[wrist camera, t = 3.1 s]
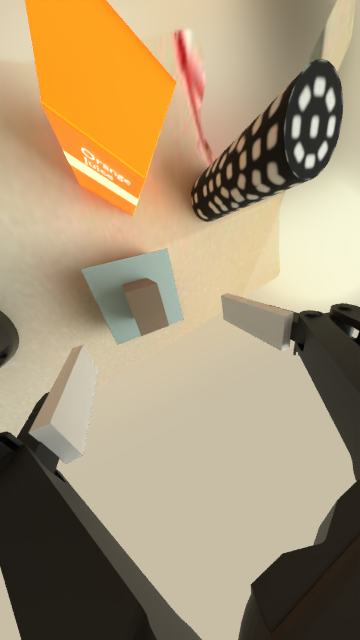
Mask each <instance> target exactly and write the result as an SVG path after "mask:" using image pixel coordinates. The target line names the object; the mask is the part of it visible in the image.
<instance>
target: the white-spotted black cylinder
mask: <svg viewBox="0 0 360 640" xmlns="http://www.w3.org/2000/svg"><path fill="white" fill-rule="evenodd" d="M342 114H343V93H342V87H341V82H340V79H339V75H338V73H337V71H336V69H335V67H334V66H333V65H332V64H331V63H330V62H329V61H327V60H324V59H319V60H315V61H313V62H312V63H310V64H309V65H308V66H307V67H306V68H305V69H304V70H303V71H302V72H301V73H300V74H299V75H298V76H297V77H296V78H295V79H294V80H293V81H292V82H291V83H290V84H289V85H288V86H287V87H286V89H284V90H283V92H281V94H280V95H279V96H278V97H277V98H276V99H275V100H274V101H273V102H272V103H271V104H270V105H269V106H268V107H267V108H266V109H265V110H264V111H263V112H262V113H261V114H260V115H259V116H258V117H257V118H256V119H255V120H254V121H253V122H252V123H251V124H250V125H249V126H248V127H247V128H246V129H245V130H244V132H242V133H241V135H240V136H239V137H238V138H237V139H236V140H235V141H234V142H233V143H232V144H231V145H230V146H229V147H228V148H227V149H226V150H225V151H224V152H223V153H222V154H221V155H220V156H219V157H218V158H217V159H216V160H215V161H214V162H213V163H212V164H211V165H210V166H209V167H208V168H207V169H206V170H205V171H204V172H203V174H202V175H201V176H200V177H199V178H198V179H197V180H196V181H195V183H194V185H193V187H192V192H191V202H192V207H193V209H194V212H195V213H196V215H197V216H198V217H199V218H200V219H201V220H203V221H207V222H211V221H214V220H216V219H218V218H221V217H223V216H226V215H228V214H230V213H233V212H235V211H237V210H240V209H242V208H244V207H247V206H249V205H252V204H254V203H256V202H259V201H261V200H263V199H266V198H268V197H270V196H273V195H275V194H278V193H280V192H282V191H285V190H287V189H289V188H291V187H294V186H296V185H299V184H301V183H304V182H306V181H308V180H311V179H313V178H314V177H316V176H317V175H319V174H320V173H321V172H322V171H323V169H324V168H325V166H326V165H327V164H328V162H329V160H330V158H331V156H332V154H333V152H334V149H335V147H336V144H337V140H338V137H339V132H340V128H341V121H342Z"/></svg>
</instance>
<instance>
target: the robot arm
mask: <svg viewBox="0 0 360 640" xmlns="http://www.w3.org/2000/svg"><path fill="white" fill-rule="evenodd" d="M221 298H222V308H223V318H224V320H226V321H228V322H230V323H231V324H233V325H235V326H237V327H238V328H240V329H242V330H244V331H246V332H248V333H250V334H251V335H253V336H255V337H257V338H259V339H261V340H263V341H264V342H266V343H268V344H270V345H271V346H273V347H275V348H277V349H279V350H281V351H282V350H284V349H286V348H288V347H289V346H290V339H291V340H293V341H295V345H294V355H296V352H298V355H299V356H300V357H301V359H302V361H303V363H304V365H305V367H306V369H307V371H308V373H309V375H310V377H311V378H312V381H313V383H314V385H315V387H316V389H317V391H318V392H319V394H320V396H321V398H322V400H323V402H324V404H325V406H326V408H327V410H328V412H329V414H330V416H331V418H332V420H333V421H334V424H335V426H336V427H337V429H338V431H339V433H340V435H341V437H342V439H343V441H344V443H345V445H346V447H347V449H348V451H349V453H350V455H351V458H352V463H353V471H354V475H355V478H356V481H357V482H356V483H354V484H353V485H352V486H351V488H349V489H348V490H347V491H346V492H345V493H344V494H343V495H342V496H341V497H340V498H339V499H338V500H337V502H336V503H335V504H334V506H333V507H332V509H331V510H330V512H329V513H328V515H327V516H326V518H325V519H324V521H323V522H322V524H321V525H320V527H319V530H318V533H317V536H316V539H315V542H314V545H313V546H309V547H305V548H302V549H298V550H294V551H291V552H287V553H283V554H282V555H281V556H280V557H279V558H278V559H277V560H276V561H275V562H274V563H273V564H271V565H270V566H269V567H268V568H267V570H265V571H264V572H263V573H262V574H261V575H260V576H259V577H258V578H257V579H256V580H255V581H254V582H253V583H252V584H251V596H250V598H249V600H248V603H247V605H246V608H245V612H244V615H243V618H242V622H241V627H240V633H239V639H238V640H360V307H358V306H355V305H350V304H343V303H341V304H335V305H332V306H331V309H330V312H329V313H322V312H319V311H302V312H300V313H296V312H293V311H289V310H286V309H281V308H279V307H275V306H272V305H267V304H263V303H260V302H256V301H253V300H249V299H246V298H242V297H239V296H235V295H232V294H228V293H227V294H224V295H221ZM354 328H355V329H357V330H359V334H358V337H357V338H354V337H352V334H353V331H354ZM18 344H19V337H18V332H17V330H16V328H15V326H14V324H13V323H12V321H11V320H10V319H9V318H8V317H7V316H6V315H5V314H4V313H2V312H1V311H0V367H2V366H3V365H4V364H5V363H6V362H7V361H8V360H10V359H11V358H12V356H13V355H14V354H15V352H16V350H17V348H18ZM97 376H98V368H97V367H96V365H95V363H94V362H93V360H92V359H91V357H90V355H89V354H88V352H87V350H86V349H85V347H84V345H81V346H78V347H76V348H73V349H72V351H71V353H70V355H69V356H68V358H67V360H66V362H65V364H64V366H63V368H62V370H61V372H60V374H59V375H58V377H57V379H56V381H55V383H54V385H53V387H52V389H51V391H50V392H48V393H46V394H45V395H44V396H43V397H42V398H41V399H40V400H39V401H38V402H37V404H36V405H35V407H34V409H33V411H32V413H31V414H30V416H29V417H28V420H27V421H26V423H25V424H24V426H23V428H22V430H21V431H20V433H19V435H18V437H17V438H16V437H15V436H13V435H12V434H11V433H9V432H2V433H0V567H1V571H2V574H3V577H4V581H5V585H6V588H7V591H8V595H9V598H10V602H11V605H12V609H13V612H14V616H15V619H16V623H17V626H18V629H19V633H20V637H21V640H202V639H201V638H200V637H199V636H198V635H197V634H196V633H195V632H194V630H193V629H192V628H191V627H190V626H189V625H188V624H187V623H185V622H184V621H183V620H182V619H181V618H180V617H179V616H178V615H177V614H176V613H175V611H174V610H173V609H172V608H171V607H170V606H169V605H168V603H167V602H166V601H165V600H164V598H163V597H162V596H161V595H160V593H159V592H158V591H157V590H156V589H155V587H154V586H153V585H152V584H151V582H150V581H149V580H148V579H147V578H146V576H145V575H144V574H143V573H142V571H141V570H140V569H139V568H138V567H137V565H136V564H135V563H134V562H133V560H132V559H131V558H130V557H129V556H128V555H127V553H126V552H125V551H124V549H123V548H122V547H121V546H120V545H119V544H118V542H117V541H116V540H115V539H114V537H113V536H112V535H111V534H110V533H109V531H108V530H107V529H106V528H105V526H104V525H103V524H102V523H101V521H100V520H99V519H98V518H97V517H96V515H95V514H94V513H93V512H92V511H91V509H90V508H89V507H88V506H87V505H86V503H85V502H84V501H83V500H82V499H81V497H80V496H79V495H78V494H77V492H76V491H75V490H74V489H73V488H72V487H71V485H70V484H69V482H68V481H67V480H66V479H65V478H64V476H63V475H62V474H61V473H60V472H59V471H58V470H57V469H56V467H57V464H58V461H59V459H60V460H62V462H64V463H65V464H68V463H70V462H72V461H73V460H75V459H77V458H79V457H81V456H83V453H84V447H85V442H86V436H87V430H88V425H89V420H90V414H91V409H92V403H93V397H94V392H95V387H96V381H97Z"/></svg>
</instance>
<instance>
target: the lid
mask: <svg viewBox="0 0 360 640" xmlns="http://www.w3.org/2000/svg"><path fill="white" fill-rule="evenodd" d="M81 272H82V274H83V276H84V278H85V280H86V282H87V284H88V286H89V288H90V290H91V292H92V294H93V296H94V298H95V300H96V302H97V304H98V306H99V308H100V310H101V312H102V314H103V316H104V319H105V321H106V323H107V325H108V327H109V329H110V331H111V333H112V335H113V337H114V339H115V341H116V343H117V345H118V344H121V343H123V342H126V341H128V340H131V339H134V338H136V337H139V336H143V335H145V334H148V333H151V332H153V331H156V330H158V329H161V328H164V327H166V326H169V325H171V324H173V323H176V322H178V321H181V320H184V319H183V315H182V310H181V306H180V301H179V297H178V293H177V288H176V284H175V280H174V275H173V271H172V266H171V262H170V258H169V253H168V249H163V250H159V251H154V252H150V253H146V254H142V255H138V256H134V257H129V258H125V259H121V260H117V261H113V262H108V263H104V264H100V265H96V266H92V267H88V268H83V269H81Z"/></svg>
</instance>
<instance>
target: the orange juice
mask: <svg viewBox="0 0 360 640" xmlns="http://www.w3.org/2000/svg"><path fill="white" fill-rule="evenodd" d="M25 3H26V9H27V15H28V22H29V27H30V33H31V40H32V45H33V51H34V58H35V64H36V70H37V76H38V82H39V88H40V94H41V100H40V102H41V104H42V107H43V109H44V111H45V113H46V115H47V117H48V119H49V121H50V123H51V125H52V127H53V130H54V132H55V134H56V136H57V138H58V140H59V142H60V144H61V146H62V148H63V152H64V154H65V156H66V158H67V160H68V162H69V164H70V165H71V167H72V169H73V171H74V173H75V175H76V178H77V180H78V182H79V184H80V185H82V186H83V187H85V188H87V189H88V190H90V191H92V192H93V193H95V194H97V195H98V196H100V197H102V198H103V199H105V200H107V201H109V202H110V203H112V204H114V205H115V206H117V207H119V208H120V209H122V210H124V211H125V212H127V213H129V214H131V215H132V216H133V213H134V210H135V207H136V205H137V203H138V200H139V197H140V193H141V190H142V187H143V184H144V181H145V179H146V175H147V174H148V173H147V172H148V169H149V166H150V163H151V159H152V156H153V153H154V150H155V147H156V144H157V142H158V141H157V140H158V137H159V134H160V131H161V128H162V125H163V122H164V119H165V116H166V113H167V110H168V107H169V103H170V100H171V97H172V94H173V91H174V88H175V85H176V81H175V80H174V79H173V78H172V77H171V76H170V74H169V73H168V72H167V71H166V70H165V69H164V67H163V66H162V65H161V64H160V63H159V62H158V60H157V59H156V58H155V57H154V56H153V55H152V53H151V52H150V51H149V50H148V49H147V48H146V46H145V45H144V44H143V43H142V42H141V40H140V39H139V38H138V37H137V36H136V35H135V34H134V32H133V31H132V30H131V29H130V28H129V26H128V25H127V24H126V23H125V22H124V21H123V20H122V18H121V17H120V16H119V15H118V14H117V12H116V11H115V10H114V9H113V8H112V7H111V6H110V4H109V3H108V2H107V1H106V0H25Z"/></svg>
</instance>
